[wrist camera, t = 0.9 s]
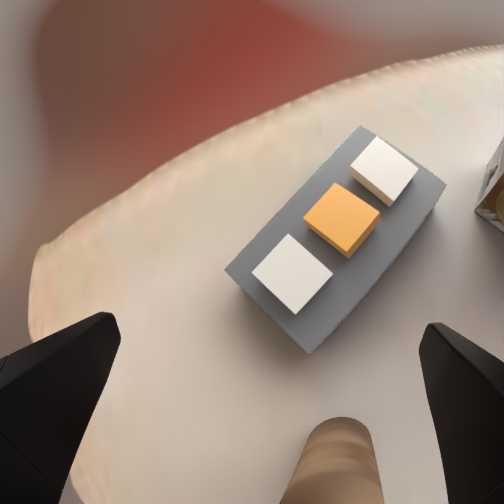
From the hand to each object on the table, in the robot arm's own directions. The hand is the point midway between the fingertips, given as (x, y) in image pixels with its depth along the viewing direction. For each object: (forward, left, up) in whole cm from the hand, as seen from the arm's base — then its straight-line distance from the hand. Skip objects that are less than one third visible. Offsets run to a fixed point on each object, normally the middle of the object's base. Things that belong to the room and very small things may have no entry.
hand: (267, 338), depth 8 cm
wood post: (-8, +5, -15) cm, 17 cm away
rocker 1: (+3, -2, -10) cm, 11 cm away
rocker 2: (+3, -11, -10) cm, 15 cm away
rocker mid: (+3, -7, -10) cm, 12 cm away
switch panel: (+3, -7, -15) cm, 17 cm away
